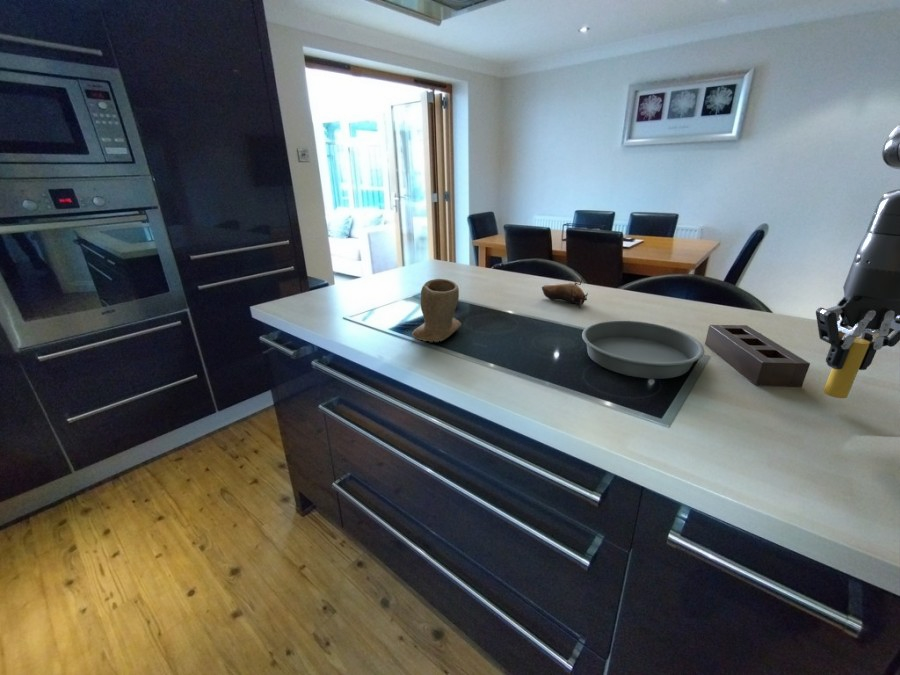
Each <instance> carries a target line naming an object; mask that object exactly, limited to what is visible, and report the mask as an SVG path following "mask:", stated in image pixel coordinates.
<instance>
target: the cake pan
mask: <svg viewBox="0 0 900 675" xmlns="http://www.w3.org/2000/svg"><path fill="white" fill-rule="evenodd" d="M581 338H582V340H583V341H584V343H585V344H586V350H587V355H588V357H589V358H590V359H591V360H592V361H593V362H594V363H596V364H597V365H598V366H599V367H602V368H604V369H606V370H607V371H611V372H614V373H616V374H617V373H618V374H620V375H623V376H627V377H633V378H640V379H648V380H649V379H650V380H664V379H665V380H666V379H673V378H677V377H680V376H683V375H685V374H686V373H688V372H689V371H690V369H691V367H692V366H693V364H694V363H695V362H696V361H699V360H700V359H701V358H703V356H704V355H705V348H704V345H703V343H701V342H700V341H699V340H698V339H697V338H695V337H693V336H691V335H690V334H688V333H686V332H683V331H681V330H679V329H677V328H673V327H669V326H666V325H662V324H657V323H651V322H645V321H638V320H608V321H601V322H597V323H596V322H595V323H593V324H591V325H589V326H587V327H585V329H583V331H582V334H581Z"/></svg>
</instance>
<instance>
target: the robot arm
mask: <svg viewBox="0 0 900 675" xmlns="http://www.w3.org/2000/svg"><path fill="white" fill-rule="evenodd" d="M881 157H882V160H883V162H884V164H885V165H886V166H888V167H890V168H892V169H895V170H900V123H898V124H897V125H896V126H895V128H894V129H893V130H892V131H891V133H889V135H888V137H887V138H886V140H885V141H884V144H883V147H882V150H881ZM842 289H843V293H844V294H843V296H842V298H841V299H840V300H839V301H838V302H837V304H836V305H835V306H832V307H829V308H825V307H817V309H816V310H815V317H816V324H817V329H818V330H817V331H818V336H819V340H821V341H824V342H825V343H828V344H830V347H829V350H828V351H827V352H828V353H827V354H826V358H825V363H826V364H827V366H828V367H830V368H831V369H832V368H834V369H842V367H843V365H844V362H845V360H846V357H847V355H848V353H849V349H848V348H849V347H850V346H851V345H852V343H853V341H854V340H855V338H856V337H857V338H861V339H865V340H867V341H869V342H870V344H869V347H868V349H867V351H866V354H865V356H864V358H863V361H862V363H861V365H860V368H859V370H858V371H866V370H867V369H868V367H869V366H871V365H872V362H873V361H874V358H875V355H876V354H877V351H879V350H881V349H882V348H883V347H891V348H892V347H894V346H896V345H897V344H898V343H900V188H898V189H893V190H890V191H887V192H886V193H884V194H882V195H881V196H880V198H879V199H878V201H877V203H876V205H875V208H874V211H873V213H872V215H871V218H870V221H869V223H868V226H867V229H866V231H865V234H864V236H863V238H862V239H861V241H860V243H859V245H858V247H857V249H856V252H855V254H854V258H853V260H852V262H851V265H850V267H849V270H848V273H847V277H846V279H845V281H844V284H843V287H842ZM892 332H893V333H892ZM890 334H891V335H890Z"/></svg>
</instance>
